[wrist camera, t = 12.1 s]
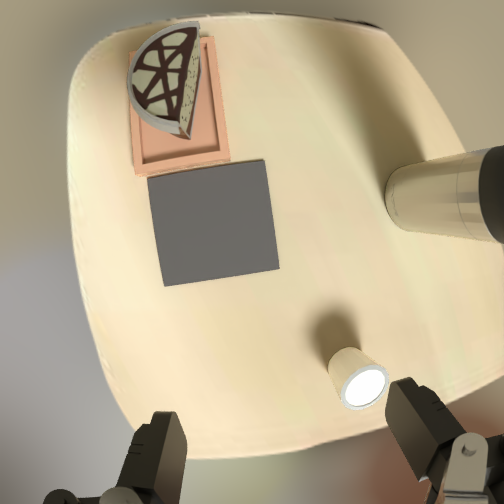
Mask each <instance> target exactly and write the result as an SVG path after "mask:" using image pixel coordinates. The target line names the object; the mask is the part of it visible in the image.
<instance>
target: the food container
mask: <svg viewBox="0 0 504 504" xmlns="http://www.w3.org/2000/svg"><path fill="white" fill-rule="evenodd" d="M199 29H200V24H199V22H198V21H188V22H182V23H178V24H174V25H171V26H169V27H166V28H164V29H162V30H160V31H159V32H157V33H155V34H154V35H152V36H151V37H150V38H148V39H147V40H146V41H145V42H144V43H143V44H142V45H141V46H140V48H139V49H138V50H137V52H136V53H135V55H134V57H133V59H132V61H131V64H130V67H129V70H128V75H127V89H128V94H129V98H130V102H131V104H132V106H133V109H134V110H135V111H136V113H137V114H138V116H139V117H140V118H141V119H142V120H143V121H145V122H146V123H147V124H149V125H150V126H152V127H154V128H156V129H159V130H161V131H164V132H168V133H170V134H172V135H174V136H176V137H178V138H182V139H187V140H191V136H192V129H193V122H194V116H195V109H196V103H197V97H198V91H199V86H200V80H201V75H202V64H201V51H200V36H199Z"/></svg>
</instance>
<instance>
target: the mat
mask: <svg viewBox="0 0 504 504" xmlns="http://www.w3.org/2000/svg"><path fill="white" fill-rule="evenodd" d="M147 180H148V188H149V196H150V204H151V211H152V218H153V224H154V231H155V237H156V243H157V249H158V255H159V260H160V266H161V271H162V276H163V281H164V286H172V285H179V284H186V283H193V282H200V281H206V280H213V279H219V278H226V277H232V276H239V275H245V274H251V273H258V272H264V271H270V270H276V269H280V267H279V260H278V252H277V244H276V237H275V230H274V222H273V215H272V208H271V201H270V194H269V187H268V180H267V173H266V167H265V161H257V162H249V163H241V164H233V165H226V166H219V167H212V168H206V169H200V170H193V171H188V172H182V173H176V174H171V175H165V176H160V177H155V178H150V179H147Z"/></svg>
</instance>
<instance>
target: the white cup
mask: <svg viewBox="0 0 504 504" xmlns="http://www.w3.org/2000/svg"><path fill="white" fill-rule="evenodd" d="M328 373H329V376H330V378H331V380H332V382H333V385H334V387H335V389H336V391H337V393H338V396H339V398H340V400H341V402H342V403H343V404H344V406H345V407H346V408H349V409H352V410H361V409H364V408H367V407H369V406H371V405H373V404H374V403H375V402H377V401H378V400H379V399H380V398H381V397H382V395H383V394H384V393H385V392H386V389H387V387H388V384H389V374H388V373H387V371H386V369H385V368H384V367H382V366H381V365H380V364H378V363H377V362H375V361H374V360H373V359H371V358H370V357H369V356H367V355H366V354H364V353H363V352H362V351H360V350H358V349H357V348H355V347H347V348H344V349H341V350H339V351H338V352H337V353H335V354H334V355H333V357H332V358H331V359H330V361H329V364H328Z"/></svg>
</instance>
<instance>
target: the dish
mask: <svg viewBox="0 0 504 504" xmlns="http://www.w3.org/2000/svg"><path fill="white" fill-rule="evenodd" d="M200 51H201V64H202V75H201V80H200V86H199V91H198V97H197V103H196V109H195V116H194V122H193V129H192V136H191V140H187V139H182V138H178V137H176V136H174V135H172V134H170V133H168V132H164V131H161V130H159V129H156V128H154V127H152V126H150V125H149V124H147V123H146V122H145V121H143V120H142V119H141V118H140V117H139V116H138V114H137V113H136V111H135V110H134V109H133V106H132V104H131V102H130V118H131V134H132V147H133V159H134V169H135V175H137V176H139V177H141V176H146V175H151V174H156V173H161V172H167V171H172V170H178V169H183V168H189V167H195V166H201V165H207V164H214V163H221V162H228V161H230V151H229V143H228V136H227V129H226V122H225V115H224V107H223V100H222V93H221V85H220V78H219V70H218V63H217V55H216V48H215V40H214V36H210V37H202V38H200ZM136 52H137V50H135V51H132V52H129V67H130V64H131V61H132V59H133V57H134V55H135V53H136Z"/></svg>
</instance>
